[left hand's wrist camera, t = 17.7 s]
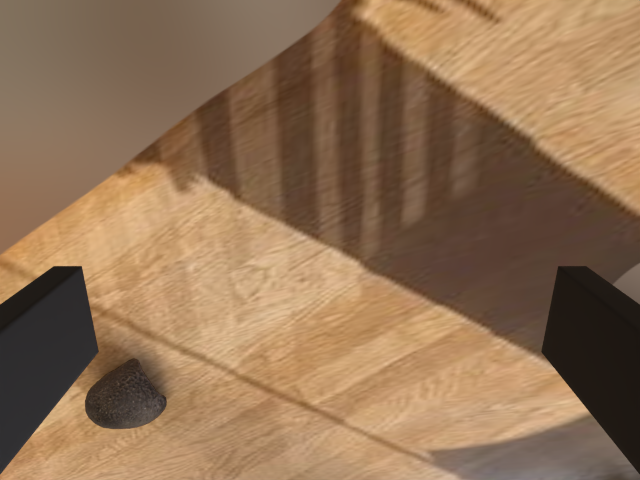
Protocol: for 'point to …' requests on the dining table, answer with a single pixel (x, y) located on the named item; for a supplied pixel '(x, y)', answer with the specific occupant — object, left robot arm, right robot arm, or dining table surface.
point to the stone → (124, 399)
